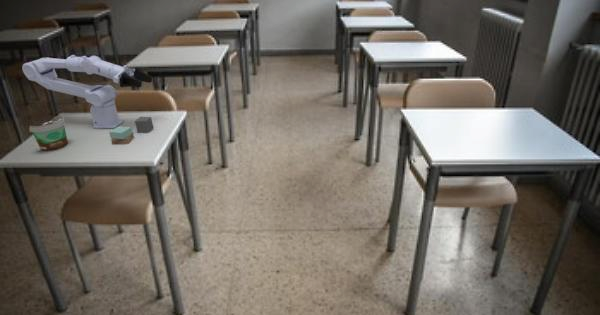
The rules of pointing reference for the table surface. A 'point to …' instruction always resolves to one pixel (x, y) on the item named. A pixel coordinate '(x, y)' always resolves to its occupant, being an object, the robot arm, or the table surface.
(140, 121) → the charcoal block
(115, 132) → the teal slab
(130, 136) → the walnut slab
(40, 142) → the food container
